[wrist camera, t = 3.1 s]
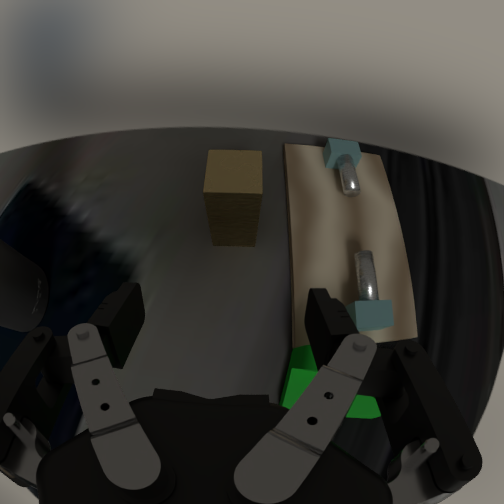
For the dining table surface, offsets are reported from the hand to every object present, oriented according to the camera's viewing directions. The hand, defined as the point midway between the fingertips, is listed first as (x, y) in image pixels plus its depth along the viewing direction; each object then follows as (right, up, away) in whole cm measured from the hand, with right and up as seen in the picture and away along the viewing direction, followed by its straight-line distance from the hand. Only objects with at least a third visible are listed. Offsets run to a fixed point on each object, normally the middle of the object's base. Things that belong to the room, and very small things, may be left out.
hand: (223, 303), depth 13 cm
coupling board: (+12, +4, +18) cm, 23 cm away
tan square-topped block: (-1, +5, +18) cm, 19 cm away
